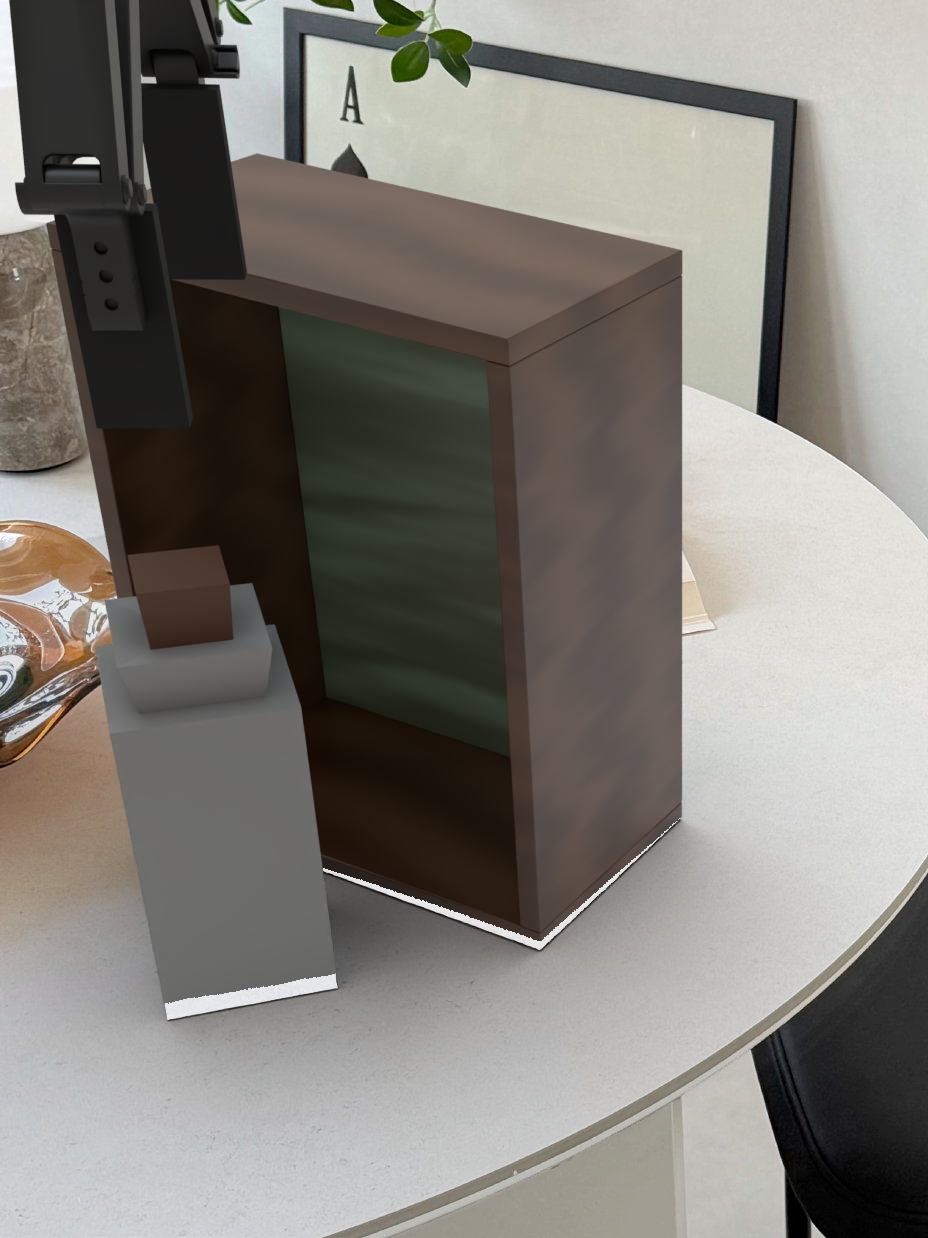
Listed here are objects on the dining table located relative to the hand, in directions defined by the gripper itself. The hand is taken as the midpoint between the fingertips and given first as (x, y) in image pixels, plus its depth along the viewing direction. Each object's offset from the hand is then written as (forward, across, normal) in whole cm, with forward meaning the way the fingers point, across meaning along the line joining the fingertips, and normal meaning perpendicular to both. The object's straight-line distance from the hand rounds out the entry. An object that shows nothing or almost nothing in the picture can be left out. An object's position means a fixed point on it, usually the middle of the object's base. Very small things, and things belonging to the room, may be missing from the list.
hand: (179, 345), depth 65 cm
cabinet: (+27, +12, -5) cm, 30 cm away
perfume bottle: (+27, +2, +2) cm, 27 cm away
